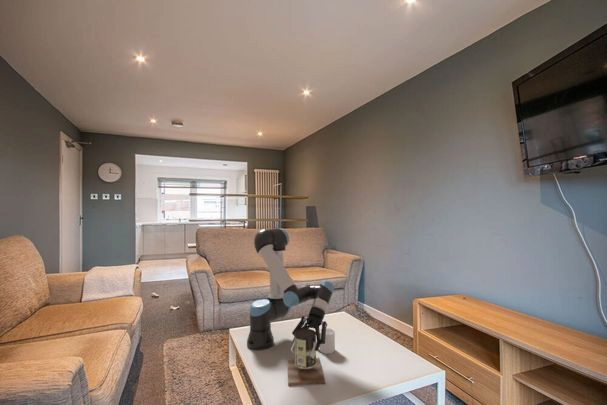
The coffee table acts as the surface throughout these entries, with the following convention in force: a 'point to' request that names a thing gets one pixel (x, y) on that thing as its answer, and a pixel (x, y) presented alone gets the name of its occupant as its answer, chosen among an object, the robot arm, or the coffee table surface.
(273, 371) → the coffee table surface
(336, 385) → the coffee table surface
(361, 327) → the coffee table surface
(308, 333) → the coffee can
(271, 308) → the robot arm
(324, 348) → the cup
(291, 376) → the walnut board
